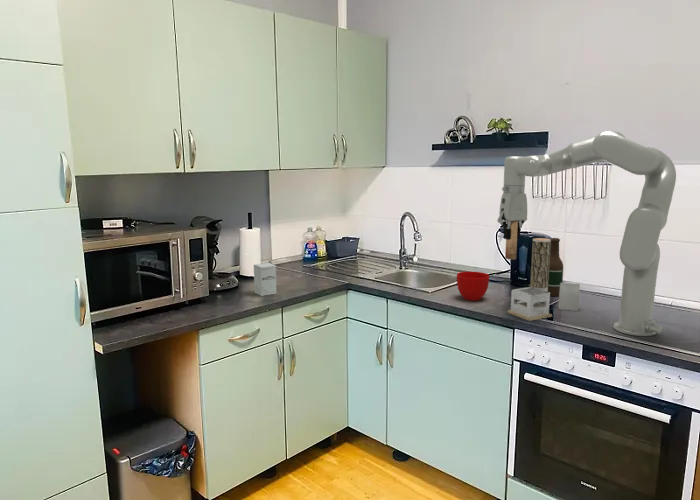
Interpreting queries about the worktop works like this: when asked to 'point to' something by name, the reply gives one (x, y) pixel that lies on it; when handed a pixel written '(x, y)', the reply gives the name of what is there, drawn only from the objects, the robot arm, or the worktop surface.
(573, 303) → the light gray block
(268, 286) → the supplement box
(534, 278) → the wooden log
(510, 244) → the wooden post
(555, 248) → the beer bottle
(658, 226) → the robot arm
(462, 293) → the ceramic cup
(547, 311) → the collar stand
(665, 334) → the worktop surface
